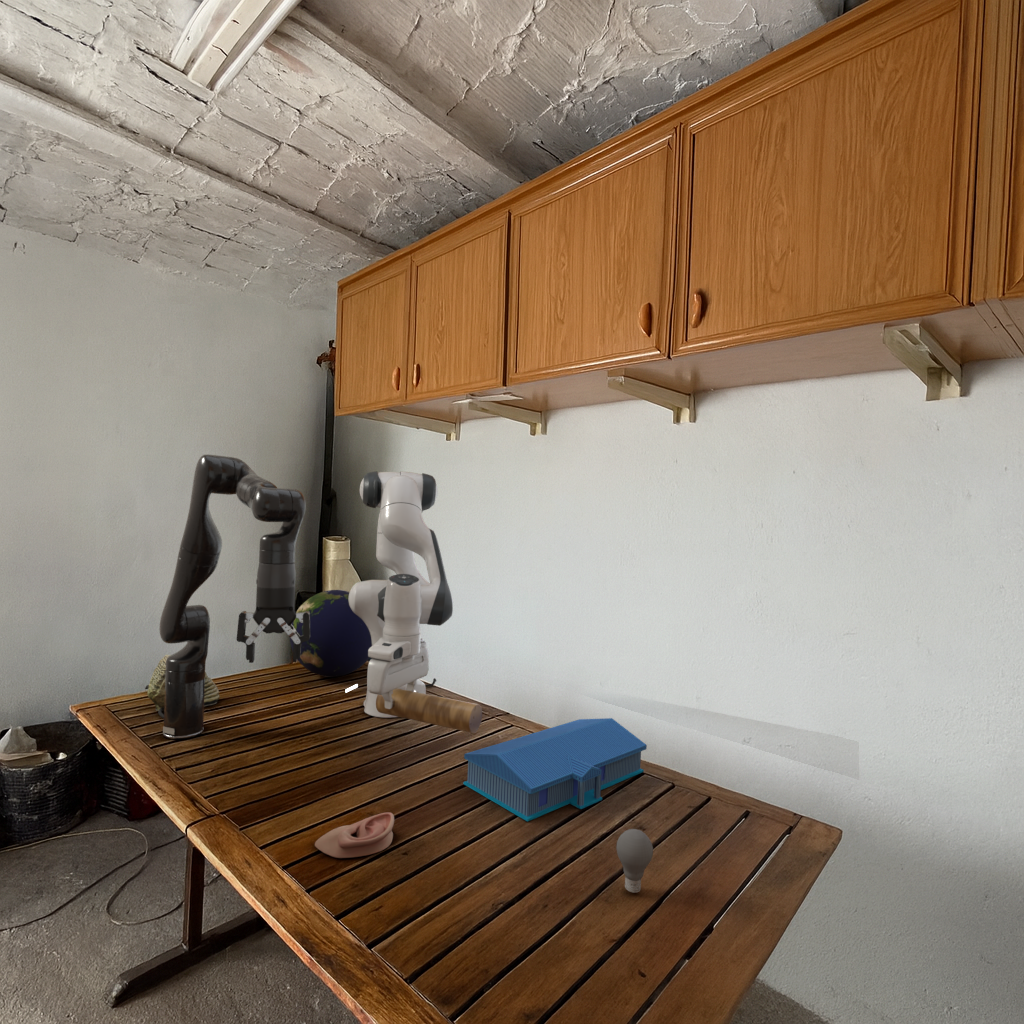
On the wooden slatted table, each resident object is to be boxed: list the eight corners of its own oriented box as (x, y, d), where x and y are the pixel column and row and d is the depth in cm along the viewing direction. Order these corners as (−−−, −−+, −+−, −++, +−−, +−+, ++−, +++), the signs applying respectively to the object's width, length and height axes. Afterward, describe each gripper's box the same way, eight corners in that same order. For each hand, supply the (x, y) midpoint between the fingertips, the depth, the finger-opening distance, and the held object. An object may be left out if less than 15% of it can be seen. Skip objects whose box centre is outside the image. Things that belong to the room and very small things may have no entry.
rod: (481, 728, 143) (482, 701, 142) (468, 736, 137) (469, 708, 137) (390, 708, 153) (391, 683, 153) (375, 715, 147) (376, 689, 147)
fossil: (144, 707, 182) (145, 655, 182) (212, 696, 194) (213, 647, 194) (151, 716, 175) (153, 662, 175) (221, 703, 188) (223, 653, 188)
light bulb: (610, 879, 108) (613, 822, 108) (644, 879, 109) (647, 822, 109) (619, 902, 102) (622, 840, 102) (655, 901, 103) (658, 840, 103)
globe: (268, 679, 214) (272, 591, 213) (326, 660, 242) (329, 582, 241) (341, 693, 203) (345, 600, 202) (393, 671, 230) (396, 589, 230)
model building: (538, 828, 124) (540, 777, 124) (462, 783, 143) (463, 739, 142) (655, 776, 151) (657, 734, 151) (578, 743, 169) (579, 706, 169)
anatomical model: (306, 830, 112) (337, 801, 124) (305, 853, 112) (336, 821, 124) (376, 842, 110) (401, 811, 121) (375, 865, 110) (400, 831, 121)
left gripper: (313, 582, 137) (310, 656, 137) (242, 581, 134) (240, 657, 134) (310, 587, 130) (307, 665, 130) (236, 586, 126) (233, 667, 127)
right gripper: (414, 635, 159) (412, 690, 159) (363, 651, 140) (360, 713, 140) (436, 638, 156) (434, 694, 156) (386, 655, 138) (384, 718, 138)
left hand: (273, 661), depth 132 cm, fingers open, 8 cm apart
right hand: (398, 703), depth 148 cm, fingers closed on rod, 6 cm apart
